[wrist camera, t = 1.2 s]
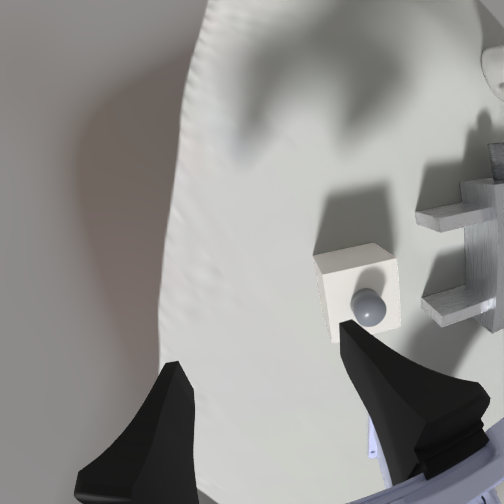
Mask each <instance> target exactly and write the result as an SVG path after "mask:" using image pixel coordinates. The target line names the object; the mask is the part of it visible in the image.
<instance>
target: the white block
mask: <svg viewBox="0 0 504 504" xmlns="http://www.w3.org/2000/svg"><path fill="white" fill-rule="evenodd" d="M313 261H314V267H315V272H316V278H317V284H318V290H319V296H320V303H321V309H322V315H323V318H324V320H325V323H326V326H327V329H328V332H329V335H330V339H331V342H332V344H334V343H339V342H340V333H339V323H341V322H344V321H347V320H351V319H352V320H354V321H355V322H357V323H358V324H359V325H360V326H361V327H363V328H364V329H365V330H366V331H368V332H369V333H370V334H371V335H372V334H376V333H380V332H384V331H387V330H391V329H395V328H398V327H401V316H400V292H399V276H398V264H397V258H396V257H395V256H393V255H392V254H390V253H389V252H387V251H386V250H384V249H383V248H381V247H380V246H378V245H377V244H375V243H374V242H373V243H369V244H364V245H359V246H355V247H350V248H345V249H341V250H336V251H331V252H326V253H321V254H317V255H313Z"/></svg>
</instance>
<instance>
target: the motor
mask: <svg viewBox="0 0 504 504" xmlns="http://www.w3.org/2000/svg"><path fill="white" fill-rule="evenodd" d="M488 149H489V155H490V161H491V167H492V174H493V177H491V178H484V179H478V180H471V181H465V182H459V183H460V191H461V199H462V203H457V204H452V205H447V206H442V207H437V208H432V209H427V210H422V211H417V212H415V214H416V223H417V224H418V225H421V226H424V227H427V228H429V229H432V230H435V231H438V232H440V233H441V232H445V231H449V230H454V229H458V228H462V227H464V235H465V285H462V286H458V287H455V288H452V289H449V290H446V291H442V292H439V293H436V294H432V295H429V296H426V297H422V298H421V304H422V309H423V310H424V311H425V312H426V313H427V314H428V315H429V316H430V317H431V318H432V319H433V320H434V321H435V322H436V323H437V324H439V325H440V326H441V327H445V326H448V325H451V324H454V323H457V322H459V321H462V320H465V319H468V318H470V317H473V318H474V319H475V320H476V321H478V322H479V323H480V324H481V325H482V326H484V327H485V328H486V329H487V330H488V331H490V332H491V333H494V332H497V331H499V330H501V329H503V328H504V143H494V144H488Z"/></svg>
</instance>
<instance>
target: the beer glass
mask: <svg viewBox="0 0 504 504" xmlns="http://www.w3.org/2000/svg"><path fill="white" fill-rule="evenodd" d="M481 63H482V69H483V72H484V75H485V78H486V80H487V82H488V84H489V85H490V87H491V88H492V90H493V91H494V92H495V94H496V95H497V96H498V97H499V98H500V99H502V100H503V101H504V44H503V45H499V46H493V47H489V48H487V49H485V50H484V52H483V54H482V58H481Z"/></svg>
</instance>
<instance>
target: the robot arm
mask: <svg viewBox="0 0 504 504" xmlns="http://www.w3.org/2000/svg"><path fill="white" fill-rule="evenodd" d="M339 333H340V355H341V358H342V361H343V363H344V366H345V368H346V371H347V373H348V375H349V377H350V379H351V381H352V383H353V385H354V387H355V388H356V390H357V392H358V394H359V396H360V398H361V400H362V401H363V403H364V405H365V407H366V409H367V411H368V413H369V440H368V458H369V459H373V458H376V457H377V459H378V463H379V466H380V469H381V473H382V476H383V480H384V483H385V487H386V489H385V490H383V491H380V492H378V493H375V494H373V495H370V496H367V497H364V498H361V499H359V500H356V501H353V502H350V503H346V504H501V502H500V500H499V498H498V496H497V491H496V489H495V486H497V485H498V484H499V483H500V482H502V481H503V480H504V418H503V419H501V420H500V421H498V422H497V423H496V424H494V425H493V426H492V427H490V428H489V429H488V430H487V431H486V432H484V430H483V429H482V427H483V426H484V424H483V422H482V421H481V417H482V416H483V414H484V413H485V411H486V409H487V408H488V406H489V404H490V397H489V395H488V394H487V393H486V391H485V390H484V388H483V387H482V386H481V385H480V384H479V383H478V382H472V381H467V380H462V379H458V378H454V377H450V376H447V375H444V374H441V373H438V372H436V371H433V370H430V369H428V368H425V367H423V366H421V365H419V364H417V363H415V362H413V361H411V360H409V359H407V358H405V357H404V356H402V355H400V354H399V353H397V352H396V351H394V350H392V349H391V348H389V347H388V346H386V345H385V344H384V343H382V342H381V341H379V340H378V339H377V338H375V337H374V336H373V335H371V334H370V333H369V332H368V331H366V330H365V329H364V328H363V327H361V326H360V325H359V324H358V323H357V322H355V321H354V320H352V319H351V320H347V321H344V322H341V323H339ZM194 422H195V400H194V389H193V387H192V386H191V384H190V382H189V380H188V378H187V377H186V375H185V373H184V371H183V369H182V367H181V365H180V363H179V361H175V362H169V363H165V365H164V367H163V369H162V370H161V372H160V374H159V376H158V378H157V380H156V382H155V384H154V385H153V387H152V389H151V391H150V393H149V394H148V396H147V398H146V400H145V401H144V403H143V405H142V406H141V408H140V409H139V411H138V412H137V414H136V415H135V417H134V419H133V420H132V421H131V423H130V424H129V425H128V427H127V428H126V429H125V430H124V432H123V433H122V434H121V435H120V436H119V437H118V438H117V439H116V440H115V441H114V442H113V444H112V445H111V446H110V447H109V448H108V449H106V450H105V451H104V452H103V453H102V454H101V455H100V456H99V457H98V458H96V459H95V460H94V461H93V462H91V463H90V464H88V465H87V466H86V467H84V468H83V469H82V470H80V471H79V472H78V476H77V480H76V485H75V490H74V496H75V498H76V499H77V500H78V501H80V502H81V503H83V504H199V500H198V494H197V487H196V479H195V471H194V459H193V443H194Z"/></svg>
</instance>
